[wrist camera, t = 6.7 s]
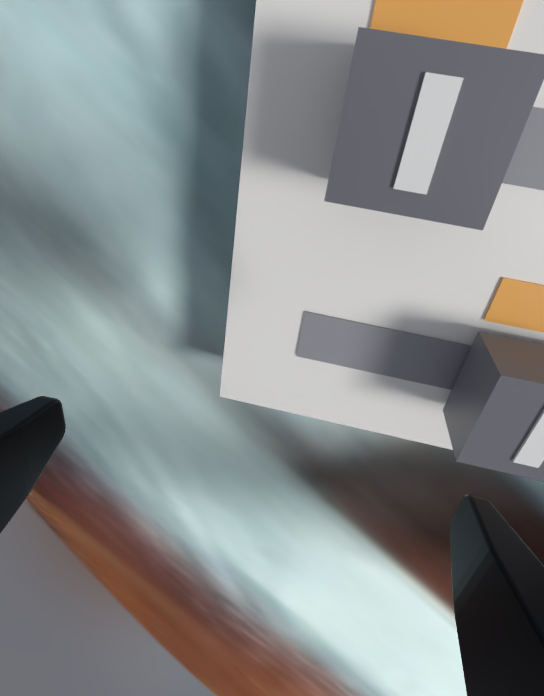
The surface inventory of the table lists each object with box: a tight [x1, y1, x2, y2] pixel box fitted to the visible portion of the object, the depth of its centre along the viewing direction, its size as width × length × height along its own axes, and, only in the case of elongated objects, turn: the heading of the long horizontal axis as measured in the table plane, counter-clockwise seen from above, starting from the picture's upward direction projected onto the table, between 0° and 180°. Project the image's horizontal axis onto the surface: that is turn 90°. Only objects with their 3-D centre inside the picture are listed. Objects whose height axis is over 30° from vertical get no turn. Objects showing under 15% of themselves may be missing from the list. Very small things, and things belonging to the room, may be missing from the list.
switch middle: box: [324, 27, 544, 230], centre depth 11 cm, size 4×4×3 cm
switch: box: [443, 331, 544, 482], centre depth 14 cm, size 4×4×3 cm
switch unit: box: [220, 0, 544, 450], centre depth 13 cm, size 23×14×3 cm, turn 172°
